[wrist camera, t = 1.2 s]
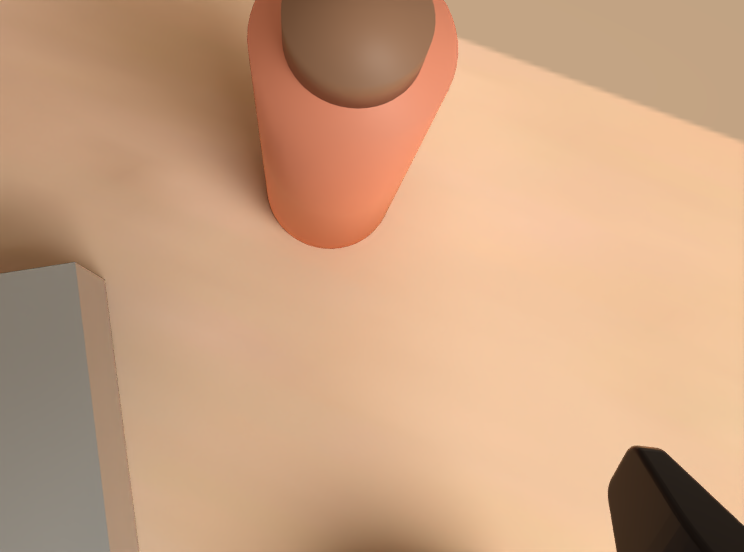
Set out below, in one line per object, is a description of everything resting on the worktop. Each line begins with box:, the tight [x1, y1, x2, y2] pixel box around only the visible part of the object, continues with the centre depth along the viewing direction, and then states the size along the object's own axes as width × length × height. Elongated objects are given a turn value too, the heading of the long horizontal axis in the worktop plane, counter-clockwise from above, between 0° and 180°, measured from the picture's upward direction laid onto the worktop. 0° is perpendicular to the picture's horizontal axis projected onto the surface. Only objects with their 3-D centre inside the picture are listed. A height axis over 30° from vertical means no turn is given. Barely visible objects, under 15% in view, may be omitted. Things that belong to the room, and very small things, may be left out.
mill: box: [247, 0, 458, 249], centre depth 18 cm, size 4×4×11 cm
